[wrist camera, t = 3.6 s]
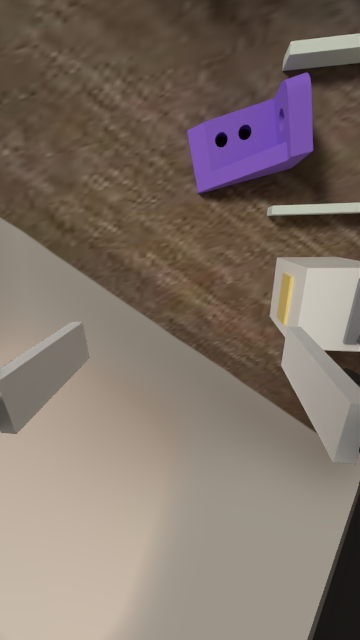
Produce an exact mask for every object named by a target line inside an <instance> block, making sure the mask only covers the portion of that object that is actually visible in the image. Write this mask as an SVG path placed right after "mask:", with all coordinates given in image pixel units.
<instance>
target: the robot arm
mask: <svg viewBox="0 0 360 640" xmlns="http://www.w3.org/2000/svg"><path fill="white" fill-rule="evenodd" d="M88 359H89V353H88V348H87V342H86V337H85V332H84V327H83V322H71V323H70V324H68V325H66V326H65V327H63V328H62V329H60V330H59V331H57V332H56V333H54V334H53V335H51V336H49V337H48V338H46V339H45V340H43V341H42V342H40V343H39V344H37V345H35V346H34V347H33V348H31V349H29V350H28V351H26V352H25V353H23V354H22V355H20V356H19V357H17V358H15V359H14V360H12V361H10V362H9V363H8V364H6V365H4V366H3V367H1V368H0V431H1V433H11V434H17V433H18V432H19V431H20V430H21V429H22V428H23V427H24V426H25V424H26V423H27V422H28V421H29V420H30V419H31V418H32V417H33V416H34V415H35V414H36V413H37V412H38V411H39V410H40V409H41V408H42V407H43V406H44V405H45V404H46V403H47V402H48V401H49V399H50V398H51V397H52V396H53V395H54V394H55V393H56V392H57V391H58V390H59V389H60V388H61V387H62V386H63V385H64V384H65V383H66V382H67V381H68V380H69V379H70V378H71V376H72V375H74V373H75V372H76V371H77V370H78V369H79V368H80V367H81V366H82V365H83V364H84V363H85V362H86V361H87V360H88ZM281 366H282V368H283V370H284V372H285V374H286V376H287V378H288V379H289V381H290V383H291V385H292V387H293V389H294V391H295V392H296V394H297V396H298V398H299V400H300V402H301V404H302V406H303V407H304V409H305V411H306V413H307V415H308V417H309V419H310V420H311V422H312V424H313V426H314V428H315V430H316V432H317V433H318V435H319V437H320V439H321V441H322V443H323V445H324V446H325V448H326V450H327V452H328V454H329V456H330V458H331V459H332V461H333V462H335V463H347V464H355V463H356V461H357V458H358V455H359V452H360V375H359V374H357V373H355V372H353V371H352V370H350V369H345V368H340V367H339V366H338V365H337V364H336V363H335V362H334V361H333V360H332V358H331V357H330V356H329V355H328V354H327V353H326V352H325V351H324V350H323V349H322V348H321V347H320V346H319V345H318V344H317V343H316V342H315V341H314V340H313V339H312V338H311V337H310V336H309V335H308V334H307V333H306V332H305V331H304V330H303V329H302V327H290V326H287V332H286V338H285V345H284V351H283V358H282V364H281ZM308 640H360V482H359V487H358V490H357V493H356V496H355V499H354V502H353V505H352V508H351V511H350V514H349V517H348V520H347V523H346V526H345V529H344V532H343V535H342V538H341V541H340V544H339V547H338V550H337V553H336V556H335V559H334V562H333V565H332V568H331V571H330V574H329V577H328V580H327V583H326V586H325V589H324V591H323V595H322V598H321V600H320V603H319V606H318V609H317V612H316V615H315V618H314V621H313V624H312V627H311V631H310V633H309V636H308Z"/></svg>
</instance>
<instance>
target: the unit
mask: <svg viewBox="0 0 360 640" xmlns="http://www.w3.org/2000/svg"><path fill="white" fill-rule="evenodd" d="M270 317H271V319H272V320H273V322H274V323H275V324H276V326H277V327H278V328H279V330H280V331H281V332H282V334H283V335H284V337H285V338H286V332H287V326H290V327H302V329H303V330H304V331H305V332H306V333H307V334H308V335H309V336H310V337H311V338H312V339H313V340H314V341H315V342H316V343H317V344H318V345H319V346H320V347H321V348H322V349H323V350H333V351H359V352H360V261H357V260H351V259H345V258H340V257H278V258H277V263H276V271H275V279H274V286H273V294H272V302H271V310H270Z"/></svg>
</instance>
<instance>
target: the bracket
mask: <svg viewBox="0 0 360 640" xmlns="http://www.w3.org/2000/svg"><path fill="white" fill-rule="evenodd" d="M242 129H246V130H248V131H249V132H250V134H251V135H250V137H249V138H248V139H247V140H242V139H240V138H239V135H238V132H239V130H242ZM187 133H188V138H189V144H190V149H191V155H192V161H193V166H194V172H195V177H196V183H197V189H198V194H201V193H205V192H208V191H212V190H215V189H219V188H223V187H226V186H230V185H233V184H237V183H241V182H244V181H248V180H251V179H255V178H259V177H262V176H266V175H269V174H273V173H277V172H280V171H284V170H287V169H291V168H293V167H294V166H295V165H296V164H297V163H299V162H300V161H301V160H302V159H304V158H305V157H306V156H307V155H308V154H310V153H311V152H312V151H313V129H312V96H311V79H310V76H309V74H308V73H307V72H306V73H303V74H300V75H298V76H295V77H292V78H289V79H286V80H283V81H282V82H281V84H280V87H279V89H278V91H277V93H276V95H275V97H274V99H271V100H268V101H265V102H262V103H259V104H256V105H253V106H250V107H247V108H244V109H241V110H238V111H235V112H232V113H229V114H227V115H224V116H221V117H218V118H215V119H212V120H209V121H206V122H203V123H201V124H199V125H198V126H196V127H194V128H192V129H190V130H188V131H187ZM220 136H223V137H225V138H226V139H227V140H228V141H227V144H226V145H225V146H224V147H218V146H217V145H216V143H215V139H216V138H218V137H220Z"/></svg>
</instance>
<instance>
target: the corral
mask: <svg viewBox="0 0 360 640" xmlns="http://www.w3.org/2000/svg"><path fill="white" fill-rule="evenodd" d="M354 63H360V33H359V34H350V35H342V36H333V37H325V38H316V39H308V40H299V41H291V43H290V45H289V47H288V50H287V52H286V54H285V57H284V59H283V69H282V71H287V70H296V69H306V68H316V67H325V66H335V65H345V64H354ZM352 213H360V203H337V204H309V205H280V206H271V207H269V208H268V212H267V216H286V215H319V214H352Z"/></svg>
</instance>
